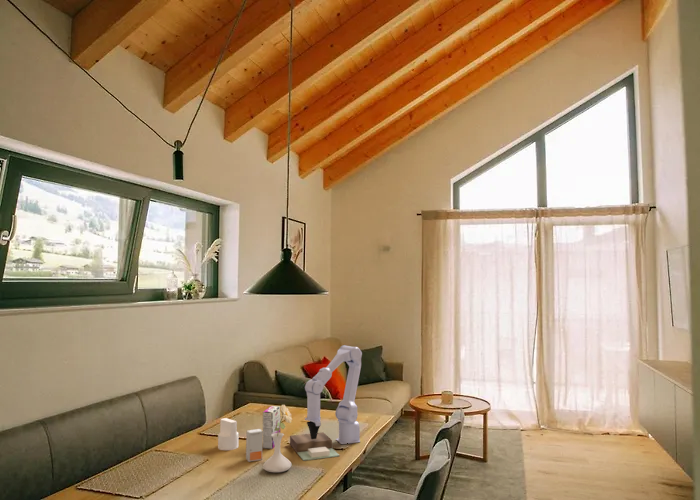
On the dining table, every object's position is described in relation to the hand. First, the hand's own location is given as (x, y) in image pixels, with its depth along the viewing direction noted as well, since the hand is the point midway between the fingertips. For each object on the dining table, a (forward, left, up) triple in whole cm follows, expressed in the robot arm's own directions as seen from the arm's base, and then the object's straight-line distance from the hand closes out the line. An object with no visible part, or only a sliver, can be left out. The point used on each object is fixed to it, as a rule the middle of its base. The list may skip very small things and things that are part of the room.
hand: (313, 438), depth 235 cm
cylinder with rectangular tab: (+35, -18, -5) cm, 40 cm away
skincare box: (+27, +3, -5) cm, 28 cm away
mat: (0, +7, -5) cm, 9 cm away
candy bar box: (+16, -14, -5) cm, 22 cm away
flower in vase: (+20, +18, -5) cm, 27 cm away
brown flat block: (0, -5, -5) cm, 7 cm away
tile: (0, +8, -2) cm, 8 cm away
